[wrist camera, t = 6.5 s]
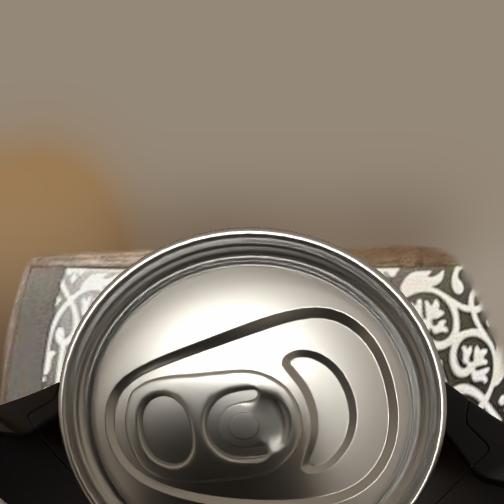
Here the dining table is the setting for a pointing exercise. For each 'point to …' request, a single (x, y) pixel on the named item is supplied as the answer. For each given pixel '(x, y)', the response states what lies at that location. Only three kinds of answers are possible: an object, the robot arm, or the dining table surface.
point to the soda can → (252, 379)
